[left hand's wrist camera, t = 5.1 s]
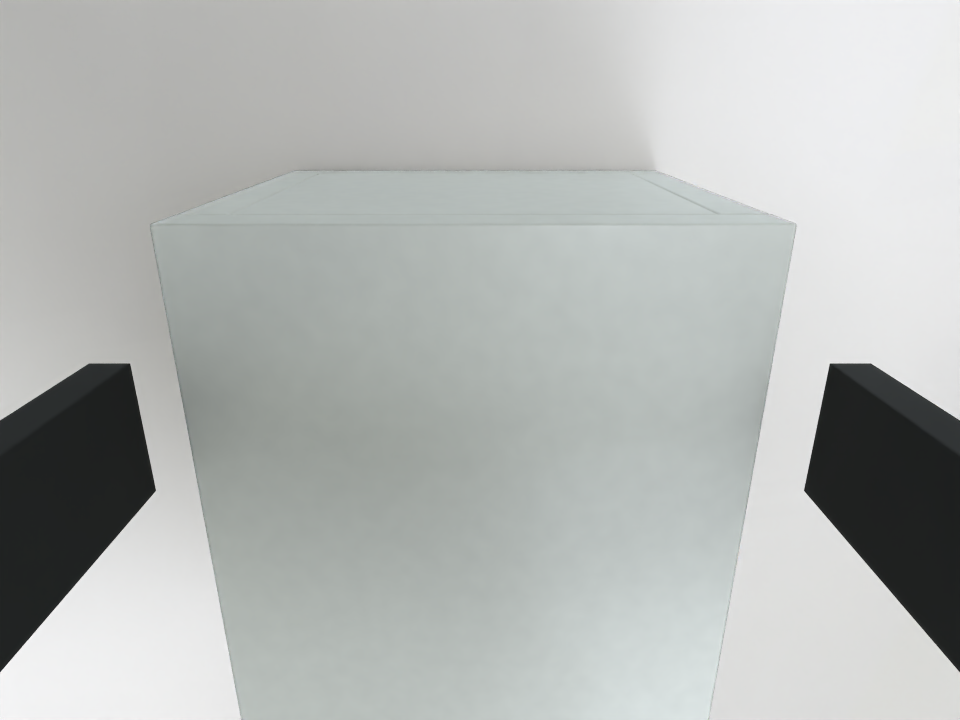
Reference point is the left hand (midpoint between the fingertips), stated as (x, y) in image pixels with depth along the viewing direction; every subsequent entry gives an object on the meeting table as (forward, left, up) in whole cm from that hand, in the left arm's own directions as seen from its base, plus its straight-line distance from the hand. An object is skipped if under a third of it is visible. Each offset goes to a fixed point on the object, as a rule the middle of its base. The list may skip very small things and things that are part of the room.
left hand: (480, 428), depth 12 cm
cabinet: (0, -7, -10) cm, 12 cm away
